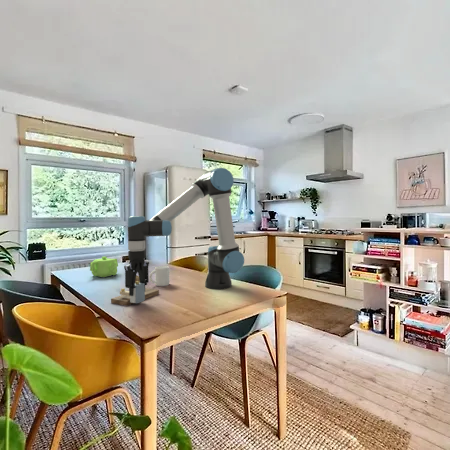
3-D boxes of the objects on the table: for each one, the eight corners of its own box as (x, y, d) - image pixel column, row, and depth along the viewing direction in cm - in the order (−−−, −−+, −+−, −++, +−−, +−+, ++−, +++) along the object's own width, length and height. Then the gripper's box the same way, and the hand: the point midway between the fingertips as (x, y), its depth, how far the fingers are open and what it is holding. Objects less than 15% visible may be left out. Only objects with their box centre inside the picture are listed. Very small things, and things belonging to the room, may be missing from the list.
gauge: (144, 300, 134) (144, 280, 134) (137, 303, 130) (136, 282, 130) (125, 297, 140) (125, 278, 139) (117, 300, 135) (117, 280, 135)
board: (158, 293, 150) (158, 289, 150) (127, 305, 131) (126, 301, 131) (144, 291, 155) (143, 287, 155) (111, 302, 135) (110, 298, 135)
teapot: (127, 275, 199) (127, 256, 198) (101, 280, 182) (101, 259, 181) (110, 272, 208) (110, 254, 208) (84, 277, 192) (83, 257, 191)
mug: (152, 288, 162) (151, 269, 162) (146, 285, 169) (146, 267, 169) (171, 285, 169) (171, 267, 169) (166, 282, 176) (165, 265, 176)
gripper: (144, 247, 142) (144, 294, 143) (115, 251, 126) (116, 305, 127) (156, 248, 139) (157, 296, 139) (128, 252, 123) (129, 307, 123)
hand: (137, 300), depth 133 cm, fingers closed on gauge, 5 cm apart
